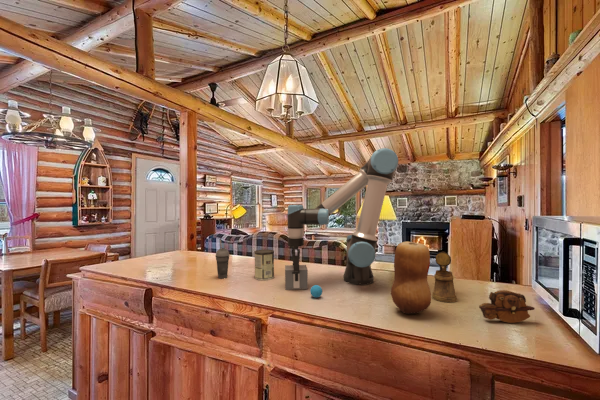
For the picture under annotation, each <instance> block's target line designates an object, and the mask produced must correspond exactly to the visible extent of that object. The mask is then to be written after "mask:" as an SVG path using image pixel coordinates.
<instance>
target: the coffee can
mask: <svg viewBox="0 0 600 400" xmlns="http://www.w3.org/2000/svg"><path fill="white" fill-rule="evenodd" d="M253 253H254V279H255V280H259V281H266V280H267V281H269V280H273V279H274V278H275V258H274V257H275V256H274V255H275V250H273V249H258V250H255V251H254V252H253Z"/></svg>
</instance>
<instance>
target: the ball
mask: <svg viewBox="0 0 600 400" xmlns="http://www.w3.org/2000/svg"><path fill="white" fill-rule="evenodd" d="M310 295H311V296H312V297H313V298H315V299H317V298H320V297H321V296H322V295H323V288H322V286H320V285H318V284H315V285H312V286H311V287H310Z"/></svg>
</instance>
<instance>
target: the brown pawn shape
mask: <svg viewBox="0 0 600 400" xmlns="http://www.w3.org/2000/svg"><path fill="white" fill-rule="evenodd" d="M435 263H436V264H437V265H438V266H439V269H437V270H435V273H434V283H433V285H434V286H433V290H432V293H431V298H432V299H434V300H435V301H438V302H441V303H456V302H458V301H457V300H458V299H457V295H456V291H455V285H454V283H455V282H454V275H453V272H452V271H450V270H447V267H448V266H449V265H450V264H451V263H452V257H451V256H450V255H449V253H447V252H446V251H441V252H438V253H437V254H436V255H435Z"/></svg>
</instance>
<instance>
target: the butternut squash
mask: <svg viewBox="0 0 600 400" xmlns="http://www.w3.org/2000/svg"><path fill="white" fill-rule="evenodd" d="M393 260H394V261H393V268H394V269H393V270H394V271H393V272H394V279H393V281H392V285H391V290H390V295H391V299H392V302H393V303H394V304H395V306H396V307H397V309H399V310H400V311H401V312H402V313H403V314H407V315H409V314H419V313H421V312H424V311H426V310H427V309H428V308H429V307H430V306H431V303H432V302H431V301H432V292H431V288H430V286H429V282H428V274H429V270H430V265H431V254H430V250H429V248H428V246H427V245H425V244H424V243H420V242H412V241H408V240H407V241H402V242H400V243H398V244H397V246H396V248H395V251H394V259H393Z"/></svg>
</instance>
